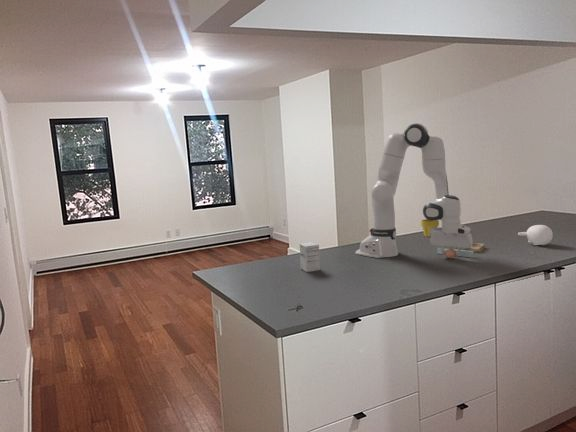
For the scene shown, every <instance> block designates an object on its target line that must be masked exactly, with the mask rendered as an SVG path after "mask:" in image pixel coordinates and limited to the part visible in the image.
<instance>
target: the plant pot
mask: <svg viewBox="0 0 576 432" xmlns="http://www.w3.org/2000/svg"><path fill="white" fill-rule="evenodd" d="M439 224H440V221H439V220H435V221H430V220H427V219H426V218H424V219H421V220H420V226H421V227H422V231H423V235H424V237H426V238H431V234H430V230H431V228H433V227H439Z"/></svg>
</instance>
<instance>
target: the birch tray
mask: <svg viewBox="0 0 576 432" xmlns="http://www.w3.org/2000/svg"><path fill="white" fill-rule="evenodd" d="M485 248H486V243H478V242H477V243H475V242H473V245H472V247H471V248H470V249H467V248H462V249H461V250H465V251H474V253H477V254H478V253H479V254H480V253H481V252H482V251H483V250H485ZM455 250H458V248H456V247H455Z"/></svg>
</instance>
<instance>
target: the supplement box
mask: <svg viewBox="0 0 576 432" xmlns="http://www.w3.org/2000/svg"><path fill="white" fill-rule="evenodd" d="M299 258H300V260H299V261H300V262H299V263H300V269H301V270H303V271H304V272H306V273H309V272H317V271H320V270H321V268H320V266H321V265H320V263H321V262H320V245H319V244H318V243H315V242H313V241H310V242H309V241H308V242H302V243H299Z"/></svg>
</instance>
